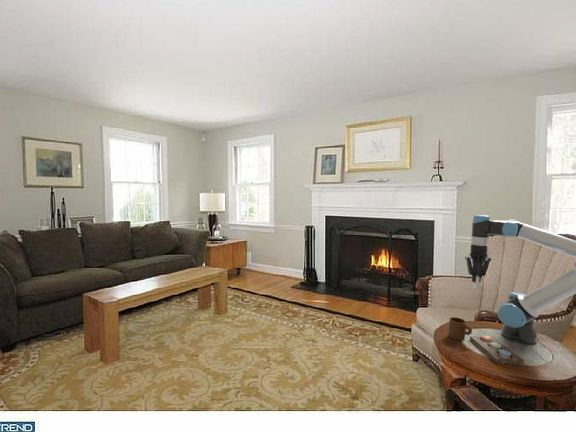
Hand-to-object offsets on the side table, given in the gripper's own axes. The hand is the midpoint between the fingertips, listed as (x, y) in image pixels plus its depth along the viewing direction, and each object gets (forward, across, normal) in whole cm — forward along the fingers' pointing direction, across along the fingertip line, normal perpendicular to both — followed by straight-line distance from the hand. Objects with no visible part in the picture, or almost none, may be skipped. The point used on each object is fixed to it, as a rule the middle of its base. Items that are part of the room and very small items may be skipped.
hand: (475, 288), depth 172 cm
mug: (+25, +11, +9) cm, 28 cm away
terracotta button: (+24, 0, +13) cm, 27 cm away
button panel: (+24, 0, +20) cm, 32 cm away
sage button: (+24, 0, +20) cm, 31 cm away
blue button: (+24, 0, +27) cm, 36 cm away
